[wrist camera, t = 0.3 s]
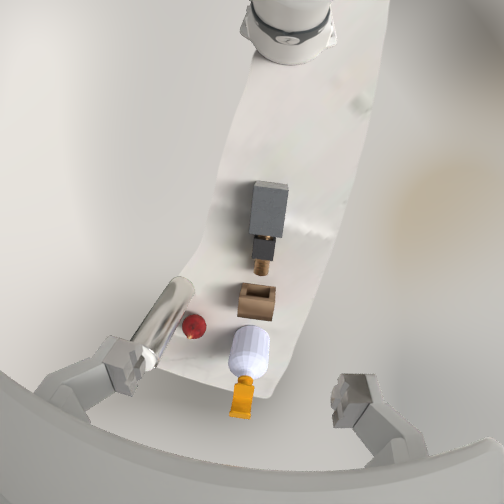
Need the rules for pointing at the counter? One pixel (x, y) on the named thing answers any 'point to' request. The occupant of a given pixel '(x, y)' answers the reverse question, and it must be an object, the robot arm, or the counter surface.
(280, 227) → the matte grey rectangular block
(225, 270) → the counter surface
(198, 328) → the onion
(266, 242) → the hammer
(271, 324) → the counter surface
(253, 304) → the socket
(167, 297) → the silver metal cylinder
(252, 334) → the soap bottle
